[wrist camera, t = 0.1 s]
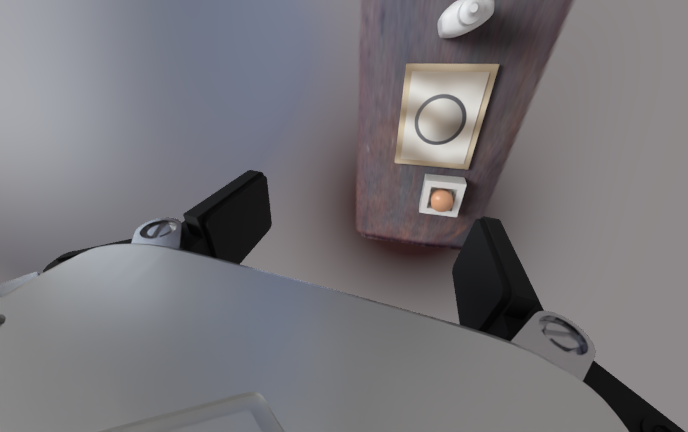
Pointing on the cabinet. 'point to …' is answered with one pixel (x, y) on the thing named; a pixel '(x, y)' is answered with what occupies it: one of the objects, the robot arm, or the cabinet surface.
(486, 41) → the cabinet surface
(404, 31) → the cabinet surface
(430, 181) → the button housing
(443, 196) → the button
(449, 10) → the eye dropper bottle
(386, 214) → the cabinet surface
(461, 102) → the cream flat rectangular panel
